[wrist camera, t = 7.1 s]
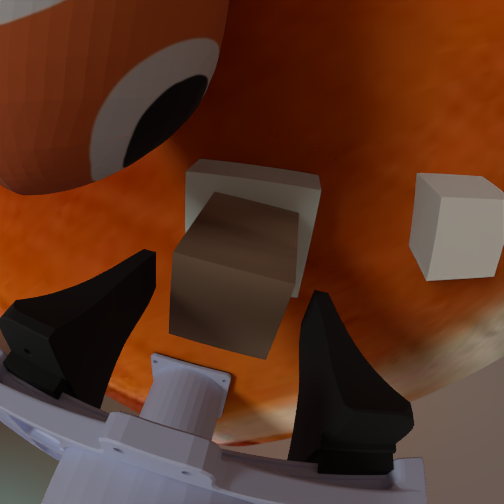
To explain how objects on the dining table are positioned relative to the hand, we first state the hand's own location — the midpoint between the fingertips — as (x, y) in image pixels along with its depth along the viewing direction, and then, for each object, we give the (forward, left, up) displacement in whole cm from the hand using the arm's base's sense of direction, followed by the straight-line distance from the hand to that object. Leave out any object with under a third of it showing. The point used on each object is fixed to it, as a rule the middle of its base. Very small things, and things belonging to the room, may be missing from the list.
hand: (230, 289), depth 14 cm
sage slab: (0, 0, -7) cm, 7 cm away
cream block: (+4, -12, -7) cm, 14 cm away
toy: (+16, +7, -7) cm, 19 cm away
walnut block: (0, 0, -4) cm, 4 cm away
